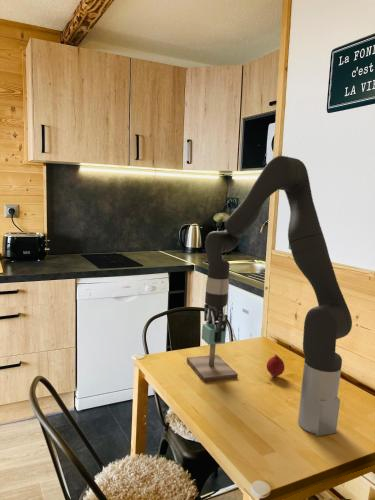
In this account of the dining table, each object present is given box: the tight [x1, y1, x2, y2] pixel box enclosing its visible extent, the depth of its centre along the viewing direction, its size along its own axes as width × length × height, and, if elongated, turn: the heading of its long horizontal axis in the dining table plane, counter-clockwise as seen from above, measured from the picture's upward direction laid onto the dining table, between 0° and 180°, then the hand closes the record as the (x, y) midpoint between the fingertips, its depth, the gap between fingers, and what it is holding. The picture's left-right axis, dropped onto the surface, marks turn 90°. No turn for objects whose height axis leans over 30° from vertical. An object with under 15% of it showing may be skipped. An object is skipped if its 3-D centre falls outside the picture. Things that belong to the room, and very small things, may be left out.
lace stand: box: [186, 344, 239, 383], centre depth 138 cm, size 16×12×11 cm
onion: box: [266, 353, 285, 378], centre depth 136 cm, size 6×6×8 cm
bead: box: [201, 323, 227, 346], centre depth 137 cm, size 6×6×5 cm
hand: (213, 338), depth 137 cm, fingers closed on bead, 6 cm apart
